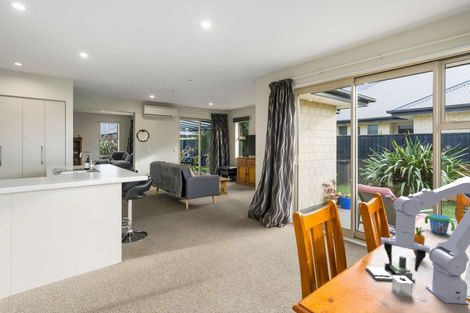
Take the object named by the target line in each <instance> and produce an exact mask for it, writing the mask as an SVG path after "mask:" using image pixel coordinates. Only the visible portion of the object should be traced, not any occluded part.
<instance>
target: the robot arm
mask: <svg viewBox="0 0 470 313" xmlns="http://www.w3.org/2000/svg"><path fill="white" fill-rule="evenodd" d="M460 194H463V195H464V197H465V198H466V199H467V200H468V201H469V203H470V175H469V176H468V175H467V176H463V177H461V178H457V179H456V180H455V181H452V182H451V183H449V184H446V185H444V186H440V187H439V188H436V189H433V190H432V189H429V188H427V189H426V188H422V189H421V190H420V191H418V192H415V193H410V194H408V195H407V196H399V197H397V198H396V199H395V201H394V202H393V203H392V206H393V208H394V209H395V237H394V238H390V237H380V244H381V245H383V248H384V250H385V252H386V255H387V258H388V263H389V265H392V263H393V253H392V252H393V250H392V249H393V246H394V247H399V248H404V249H407V250H412V251H413V250H416V256H415V261H414V262H415V263H414V271H415V272H419V268H420V264H422V262H423V261H424V259H426V256H427V255H426V254H428V258H429V260H430V262H432V264H431V265H432V279H431V280H432V283H431V285H425V288H426V289H427V290H429V291H430V292H431V293H432V294H434V295H435V296H436V297H437V298H439V299H440V300H441V301H442V302H444V303H446V304H461V305H469V303H470V302H469V301H468V300H467V298H468V297H467V295H468V284H467V283H466V281H465V280H464V279H462V277H461V276H462V275H463V274H464V273H465V272H466V270H467V265H468V262H469V261H470V259H469V256H468V254H467V252H466V251H467V249H468V247H470V206H469V208H468V209H467V210H466V212H465V213H464V215H463V217H462V218H461V220H460V221H459V222H458V224H457V225H456V226H455V229H454V231H452V233H451V234H450V236H449V237H448V239H447V240H446V241H442V242H439V243H437V245H436V246H435V247H432V248H431V247H430V246H429V245H425V244H424V245H421V244H418V243H414V237H415V232H416V229H415V228H416V216H417V215H418V214H420V212H421V211H422V210H424V209H427V208H430V207H433V206H435V205H438V204H439V202H440V200H442V199H445V198H450V197H452V196H456V195H460Z"/></svg>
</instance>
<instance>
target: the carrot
mask: <svg viewBox="0 0 470 313" xmlns="http://www.w3.org/2000/svg"><path fill="white" fill-rule="evenodd" d="M422 229H423V227H422V226H421V227H418V226H417V227H416V226H415V232H416V233H415V237H414V243H418V244H421V245H425V241H426V239H425V236H424V235H423V234H422V233H423V232H426V230H425V229H423V230H422ZM412 251H413V253H414V256H415V257H416V250H412Z"/></svg>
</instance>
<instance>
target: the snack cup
mask: <svg viewBox="0 0 470 313" xmlns="http://www.w3.org/2000/svg"><path fill="white" fill-rule="evenodd" d="M428 219H429V221H428ZM428 223H429V227H430V231H431V232H432V233H434V232H435V234H438V233H439V234H438V235H446V234H447V233H448V229H449V225H451V228H450V231H451V232H453V231H454V230H455V228H456V226H455V223H454V221H453V220H452V219H451V217H450V216H447V215H442V214H435V213H431V214H428V215H426V216H425V218H424V224H428Z"/></svg>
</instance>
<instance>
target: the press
mask: <svg viewBox="0 0 470 313" xmlns="http://www.w3.org/2000/svg"><path fill="white" fill-rule="evenodd" d="M364 269H365V270H366V271H367V272H368V273H369V275H370V276H371V277H372V278H373V279H374V280H375V281H380V282H383V281H384V282H392V276H405V277H406V278H408V279H409V280H410V281H411V282H412V283H416V279H415V278H414V277H413V272H411V271H410V272H394V271H393V270H392V269H391V268H390V265H389V261H388V262H387V261H386V262H384V266H365V267H364Z"/></svg>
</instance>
